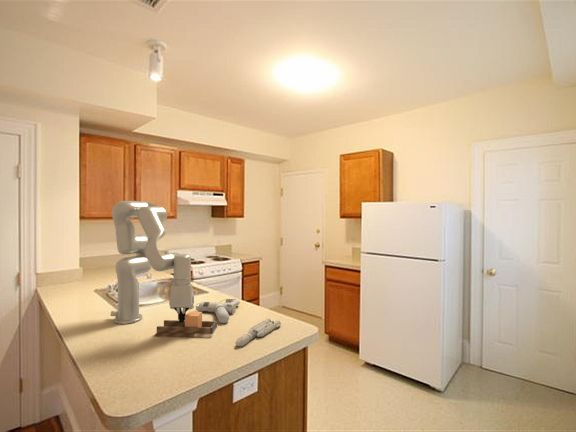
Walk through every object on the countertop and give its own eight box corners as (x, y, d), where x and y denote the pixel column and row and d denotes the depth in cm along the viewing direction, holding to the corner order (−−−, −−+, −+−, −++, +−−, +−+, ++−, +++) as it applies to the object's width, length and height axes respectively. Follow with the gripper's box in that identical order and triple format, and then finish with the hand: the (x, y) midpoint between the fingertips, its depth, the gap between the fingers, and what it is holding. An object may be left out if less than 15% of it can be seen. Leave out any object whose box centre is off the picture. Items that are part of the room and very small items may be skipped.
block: (184, 331, 138) (185, 315, 138) (189, 326, 144) (189, 311, 144) (198, 331, 138) (198, 316, 138) (202, 326, 144) (202, 311, 144)
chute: (154, 336, 136) (154, 328, 136) (166, 326, 148) (166, 318, 148) (211, 337, 135) (211, 329, 135) (217, 327, 147) (217, 319, 147)
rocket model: (281, 320, 150) (245, 342, 123) (281, 327, 150) (245, 351, 123) (265, 316, 154) (227, 337, 128) (265, 324, 154) (227, 346, 128)
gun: (244, 306, 180) (227, 325, 151) (198, 303, 184) (172, 322, 155) (244, 296, 180) (227, 314, 150) (198, 294, 184) (172, 310, 155)
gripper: (162, 283, 137) (162, 324, 138) (195, 284, 137) (195, 324, 137) (169, 279, 145) (169, 318, 145) (200, 280, 145) (200, 318, 145)
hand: (181, 321), depth 141 cm, fingers closed
